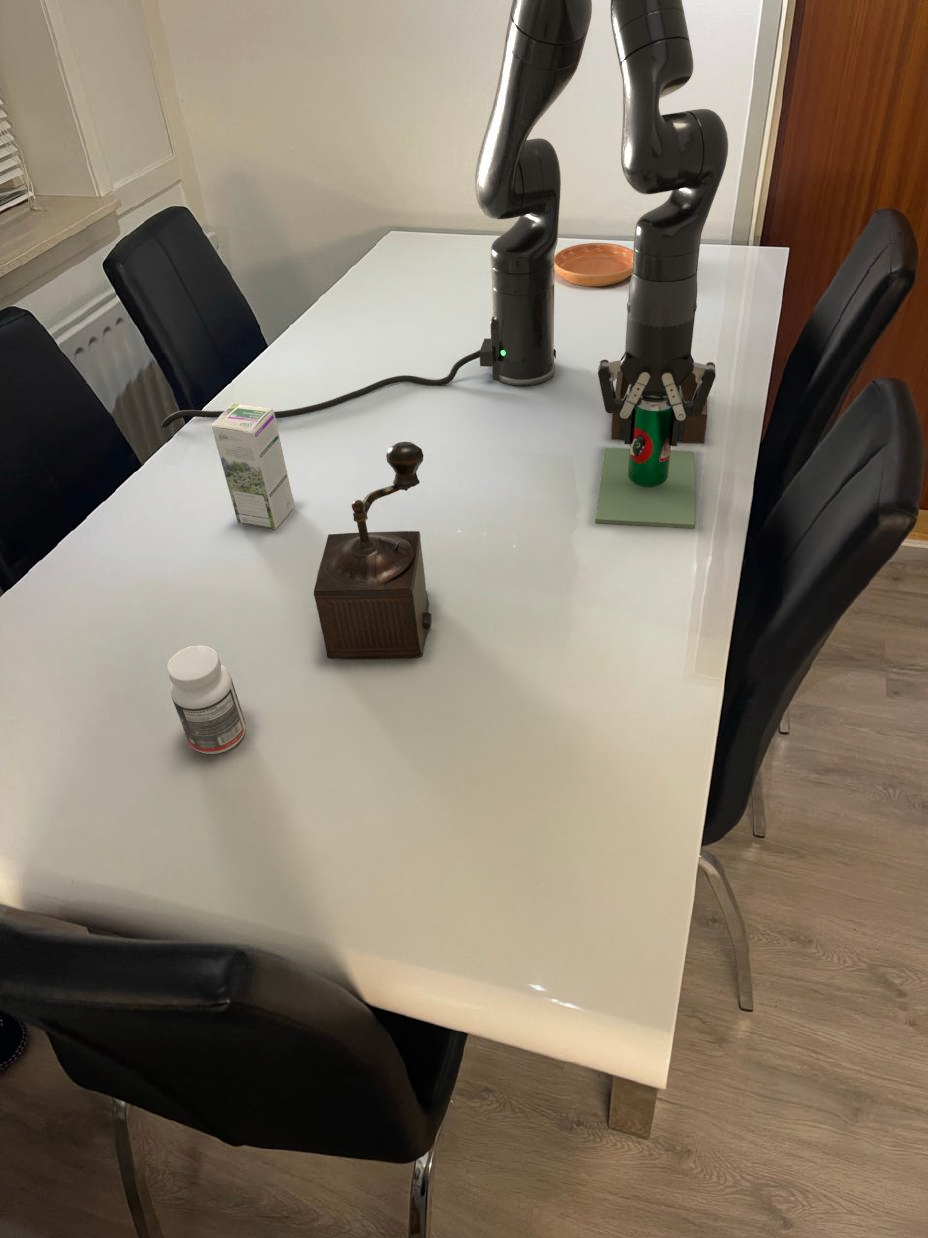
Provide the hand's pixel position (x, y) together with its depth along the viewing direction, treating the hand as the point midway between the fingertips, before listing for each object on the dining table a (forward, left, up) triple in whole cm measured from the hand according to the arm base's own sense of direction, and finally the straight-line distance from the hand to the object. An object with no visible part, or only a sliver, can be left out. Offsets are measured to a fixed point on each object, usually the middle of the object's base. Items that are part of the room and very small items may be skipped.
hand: (650, 441), depth 116 cm
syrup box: (-48, -11, -7) cm, 50 cm away
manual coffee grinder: (-28, -28, -7) cm, 40 cm away
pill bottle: (-40, -48, -7) cm, 63 cm away
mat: (0, 0, -7) cm, 7 cm away
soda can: (0, 0, -6) cm, 6 cm away
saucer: (-12, +72, -7) cm, 73 cm away
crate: (+1, +18, -7) cm, 19 cm away
